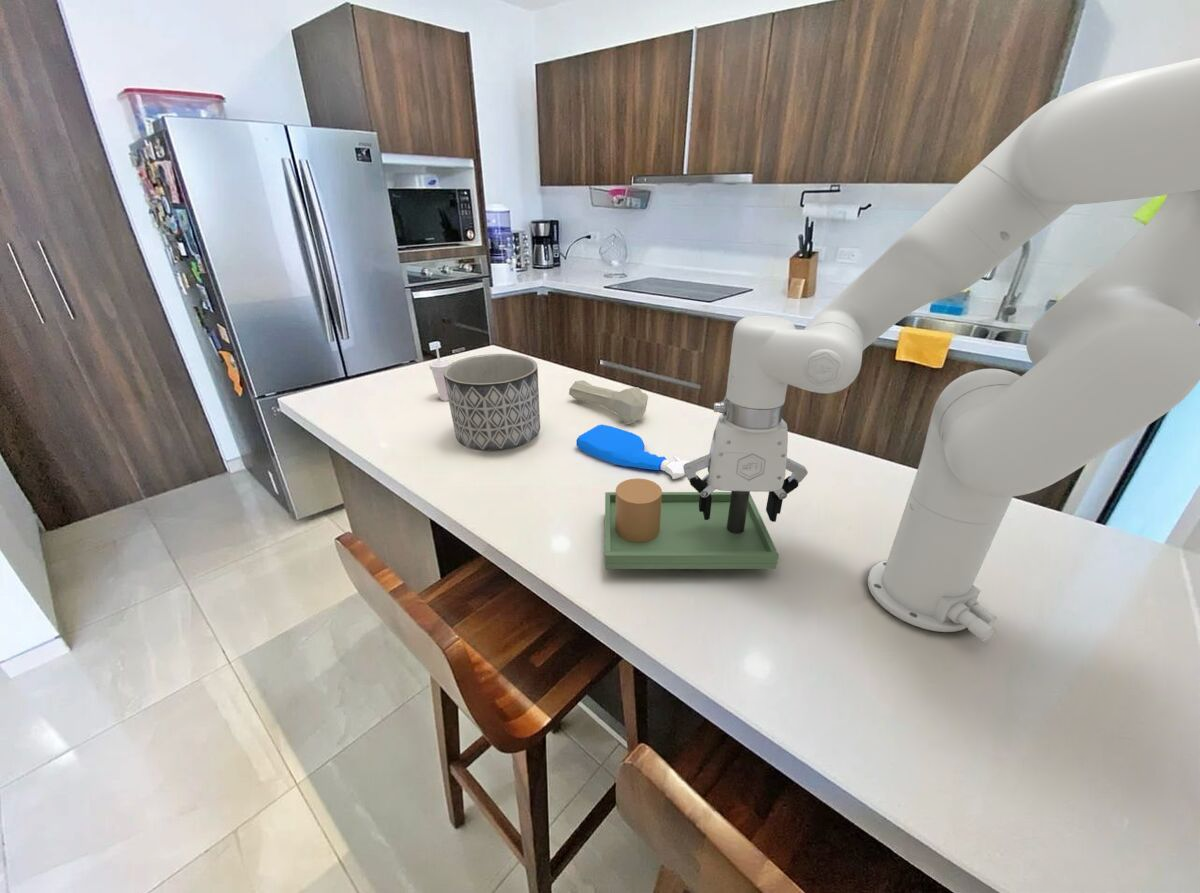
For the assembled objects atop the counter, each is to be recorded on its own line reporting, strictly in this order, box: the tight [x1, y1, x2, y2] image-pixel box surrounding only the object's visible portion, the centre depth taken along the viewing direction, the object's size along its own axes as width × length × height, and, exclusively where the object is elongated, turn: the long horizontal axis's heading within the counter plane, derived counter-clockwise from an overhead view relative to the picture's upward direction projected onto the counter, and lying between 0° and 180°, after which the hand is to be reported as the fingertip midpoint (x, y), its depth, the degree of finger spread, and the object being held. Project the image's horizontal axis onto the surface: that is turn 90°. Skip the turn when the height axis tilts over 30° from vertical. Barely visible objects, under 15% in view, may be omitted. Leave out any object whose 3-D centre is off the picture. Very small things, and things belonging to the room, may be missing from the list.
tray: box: [604, 491, 780, 570], centre depth 75 cm, size 24×16×8 cm, turn 89°
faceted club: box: [568, 379, 649, 425], centre depth 123 cm, size 9×8×25 cm
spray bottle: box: [575, 424, 696, 480], centre depth 102 cm, size 3×11×24 cm
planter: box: [443, 353, 541, 452], centre depth 107 cm, size 19×19×16 cm
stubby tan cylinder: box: [615, 478, 663, 543], centre depth 75 cm, size 7×7×7 cm
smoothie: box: [428, 346, 455, 402], centre depth 129 cm, size 6×6×14 cm
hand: (738, 515), depth 75 cm, fingers open, 9 cm apart
